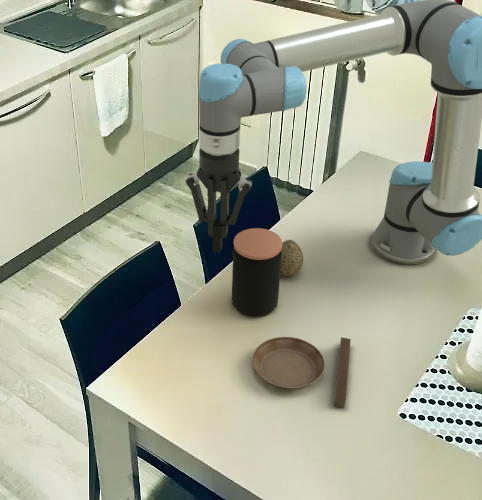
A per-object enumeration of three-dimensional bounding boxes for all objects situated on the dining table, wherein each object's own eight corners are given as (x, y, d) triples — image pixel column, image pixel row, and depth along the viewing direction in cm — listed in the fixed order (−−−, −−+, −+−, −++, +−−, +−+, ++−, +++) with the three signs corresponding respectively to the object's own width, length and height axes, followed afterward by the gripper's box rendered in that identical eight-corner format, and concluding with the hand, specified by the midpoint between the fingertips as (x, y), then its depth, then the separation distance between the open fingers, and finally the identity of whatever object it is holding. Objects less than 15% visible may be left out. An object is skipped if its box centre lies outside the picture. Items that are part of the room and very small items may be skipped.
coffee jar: (283, 295, 170) (288, 233, 160) (269, 324, 163) (274, 261, 152) (240, 285, 174) (242, 223, 163) (224, 312, 167) (226, 250, 156)
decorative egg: (307, 276, 175) (311, 243, 169) (283, 286, 173) (286, 253, 167) (290, 261, 181) (293, 228, 175) (266, 270, 178) (268, 237, 172)
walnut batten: (348, 348, 155) (350, 338, 154) (344, 408, 142) (345, 398, 141) (339, 347, 156) (341, 337, 154) (333, 406, 143) (335, 396, 141)
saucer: (249, 344, 158) (250, 335, 156) (318, 344, 157) (319, 335, 155) (254, 396, 146) (255, 387, 144) (328, 396, 145) (330, 387, 143)
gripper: (180, 154, 134) (182, 255, 148) (250, 161, 131) (246, 263, 145) (189, 135, 139) (191, 234, 154) (257, 141, 136) (252, 242, 150)
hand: (217, 248), depth 149 cm, fingers closed
